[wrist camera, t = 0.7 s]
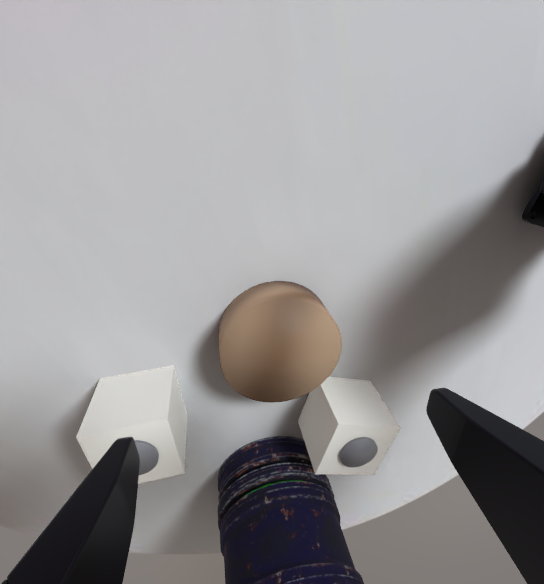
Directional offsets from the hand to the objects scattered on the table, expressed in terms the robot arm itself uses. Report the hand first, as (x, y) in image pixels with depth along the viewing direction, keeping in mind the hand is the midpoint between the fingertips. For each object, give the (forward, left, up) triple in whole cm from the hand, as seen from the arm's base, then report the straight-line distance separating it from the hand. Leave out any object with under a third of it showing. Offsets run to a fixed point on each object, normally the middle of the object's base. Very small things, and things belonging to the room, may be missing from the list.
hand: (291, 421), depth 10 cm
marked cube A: (-10, +11, -13) cm, 20 cm away
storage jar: (-7, +20, -13) cm, 25 cm away
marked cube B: (+5, +12, -13) cm, 18 cm away
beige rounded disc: (-3, +5, -13) cm, 14 cm away
